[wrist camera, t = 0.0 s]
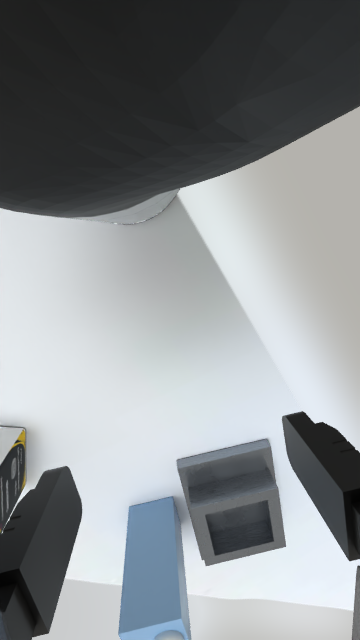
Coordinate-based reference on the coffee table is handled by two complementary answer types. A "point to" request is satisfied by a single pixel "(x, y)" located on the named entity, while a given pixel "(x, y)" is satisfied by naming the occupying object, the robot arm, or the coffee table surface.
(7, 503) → the medicine bottle
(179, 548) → the blue tall box
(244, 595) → the coffee table surface
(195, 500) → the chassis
